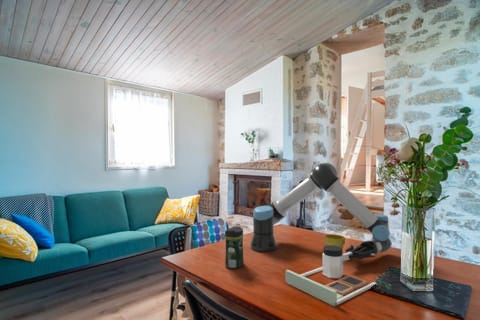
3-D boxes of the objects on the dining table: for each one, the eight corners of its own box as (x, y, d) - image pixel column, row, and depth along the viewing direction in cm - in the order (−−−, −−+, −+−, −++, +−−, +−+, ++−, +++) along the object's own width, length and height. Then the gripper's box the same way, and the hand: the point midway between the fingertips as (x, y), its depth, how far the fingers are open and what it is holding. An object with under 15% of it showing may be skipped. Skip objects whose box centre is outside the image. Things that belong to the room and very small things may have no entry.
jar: (347, 276, 124) (347, 249, 124) (333, 280, 121) (333, 252, 121) (332, 269, 132) (332, 244, 132) (318, 272, 129) (318, 246, 129)
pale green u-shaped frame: (327, 267, 135) (327, 256, 135) (376, 285, 116) (376, 272, 116) (285, 282, 119) (285, 270, 119) (334, 306, 100) (334, 292, 100)
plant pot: (342, 251, 157) (342, 234, 157) (347, 258, 147) (347, 239, 147) (323, 251, 158) (323, 233, 158) (327, 257, 148) (327, 239, 148)
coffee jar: (231, 260, 144) (230, 224, 144) (245, 263, 141) (245, 225, 141) (222, 267, 135) (222, 229, 135) (237, 270, 132) (237, 230, 132)
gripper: (383, 258, 140) (355, 270, 126) (358, 251, 150) (331, 261, 136) (383, 243, 140) (355, 253, 126) (358, 237, 150) (331, 246, 136)
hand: (343, 257), depth 131 cm, fingers closed
